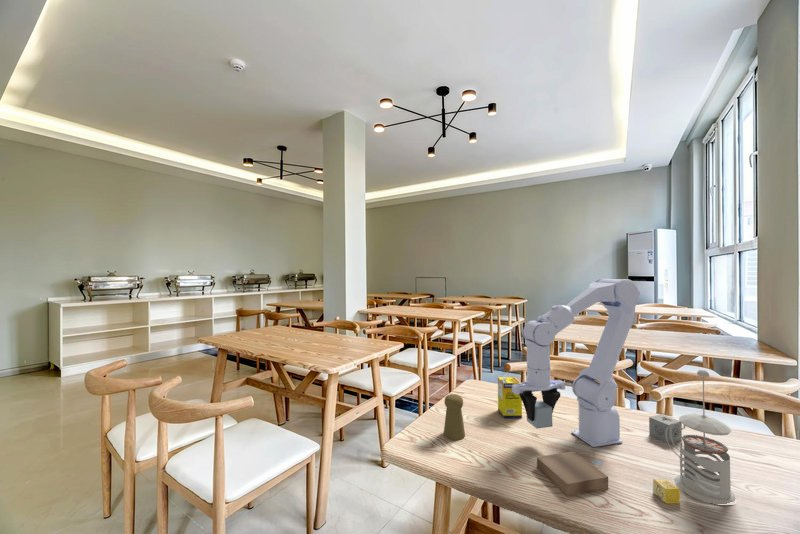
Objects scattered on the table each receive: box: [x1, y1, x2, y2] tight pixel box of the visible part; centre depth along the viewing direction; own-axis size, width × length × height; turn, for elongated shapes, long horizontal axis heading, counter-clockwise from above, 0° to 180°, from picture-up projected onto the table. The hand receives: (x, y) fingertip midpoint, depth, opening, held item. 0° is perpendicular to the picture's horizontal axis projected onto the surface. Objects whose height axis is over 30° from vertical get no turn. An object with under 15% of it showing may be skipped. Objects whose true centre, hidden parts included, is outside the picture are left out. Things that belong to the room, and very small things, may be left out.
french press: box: [666, 369, 736, 505], centre depth 70 cm, size 10×12×25 cm
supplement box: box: [497, 376, 523, 419], centre depth 106 cm, size 6×6×11 cm
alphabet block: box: [652, 478, 681, 504], centre depth 67 cm, size 3×3×3 cm
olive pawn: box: [443, 393, 466, 441], centre depth 94 cm, size 6×6×11 cm
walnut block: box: [536, 451, 609, 498], centre depth 74 cm, size 10×10×3 cm
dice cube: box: [648, 413, 683, 445], centre depth 90 cm, size 5×5×5 cm
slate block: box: [526, 400, 553, 430], centre depth 88 cm, size 4×4×5 cm
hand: (539, 418), depth 88 cm, fingers closed on slate block, 4 cm apart
